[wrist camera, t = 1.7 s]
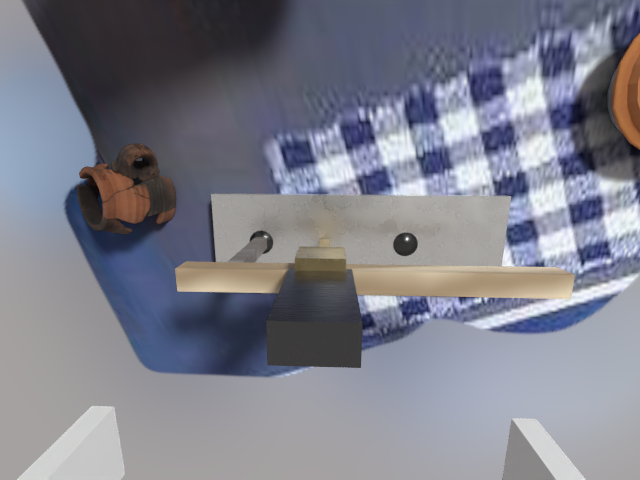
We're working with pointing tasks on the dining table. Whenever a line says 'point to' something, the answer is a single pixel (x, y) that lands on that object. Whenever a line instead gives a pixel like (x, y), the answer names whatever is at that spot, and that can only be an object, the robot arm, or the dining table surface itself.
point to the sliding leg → (316, 312)
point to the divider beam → (380, 278)
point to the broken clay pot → (126, 191)
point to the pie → (626, 94)
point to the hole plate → (365, 226)
